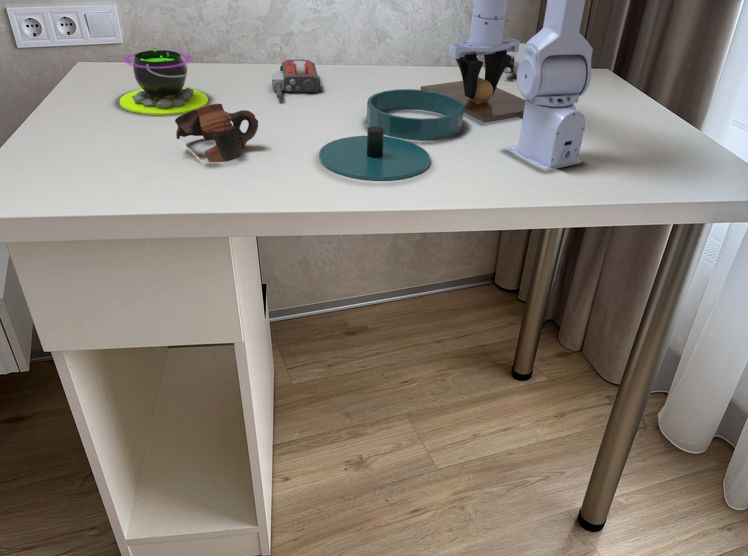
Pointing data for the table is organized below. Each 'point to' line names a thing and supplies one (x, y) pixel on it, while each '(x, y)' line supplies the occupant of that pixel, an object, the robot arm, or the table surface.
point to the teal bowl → (415, 126)
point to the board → (495, 109)
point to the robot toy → (515, 59)
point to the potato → (482, 91)
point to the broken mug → (218, 130)
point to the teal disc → (374, 157)
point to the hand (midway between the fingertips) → (479, 95)
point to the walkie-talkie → (295, 77)
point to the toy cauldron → (161, 84)
